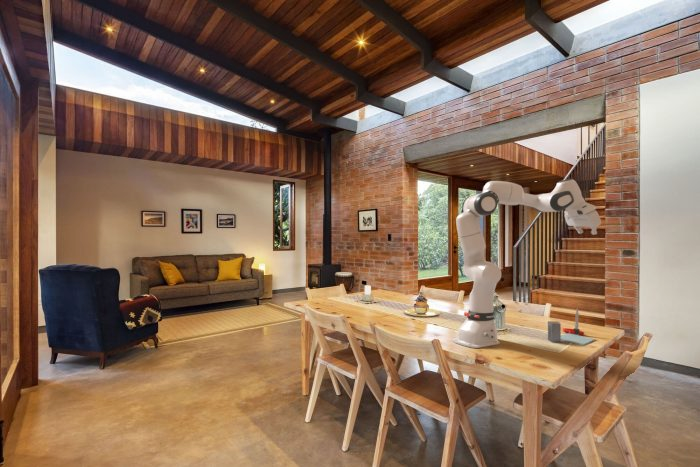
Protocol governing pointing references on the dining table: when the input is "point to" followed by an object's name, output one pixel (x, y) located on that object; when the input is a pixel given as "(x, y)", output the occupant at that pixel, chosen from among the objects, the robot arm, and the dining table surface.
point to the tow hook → (575, 330)
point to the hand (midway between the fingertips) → (587, 233)
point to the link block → (554, 331)
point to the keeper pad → (576, 339)
